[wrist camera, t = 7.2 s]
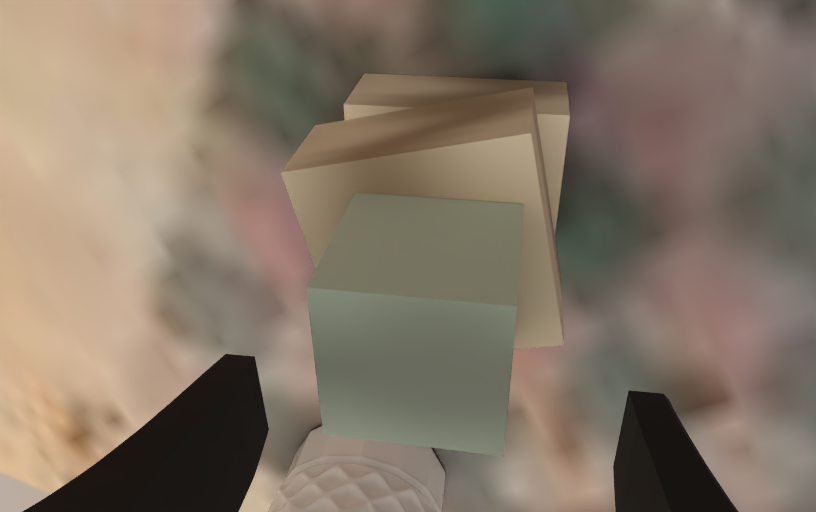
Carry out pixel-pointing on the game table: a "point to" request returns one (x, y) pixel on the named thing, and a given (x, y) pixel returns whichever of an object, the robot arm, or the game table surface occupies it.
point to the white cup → (360, 477)
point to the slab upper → (441, 182)
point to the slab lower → (420, 91)
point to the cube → (418, 321)
